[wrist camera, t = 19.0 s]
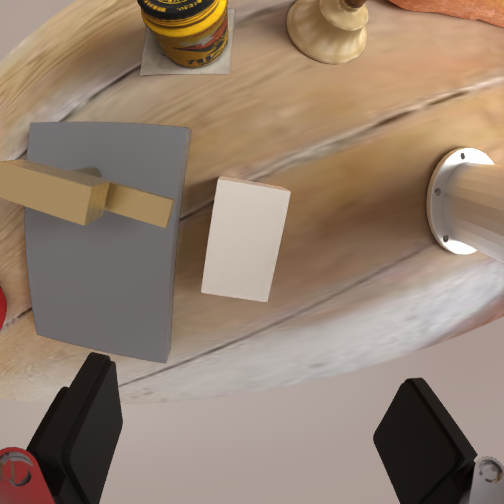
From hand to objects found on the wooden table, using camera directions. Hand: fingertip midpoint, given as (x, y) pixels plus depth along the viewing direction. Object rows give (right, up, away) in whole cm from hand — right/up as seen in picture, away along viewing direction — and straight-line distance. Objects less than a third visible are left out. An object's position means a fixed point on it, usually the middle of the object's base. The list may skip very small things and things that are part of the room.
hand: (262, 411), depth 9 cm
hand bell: (+7, +27, +16) cm, 32 cm away
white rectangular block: (-1, +7, +22) cm, 23 cm away
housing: (-16, +6, +21) cm, 26 cm away
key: (-12, +11, +16) cm, 23 cm away
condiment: (-6, +25, +16) cm, 30 cm away
